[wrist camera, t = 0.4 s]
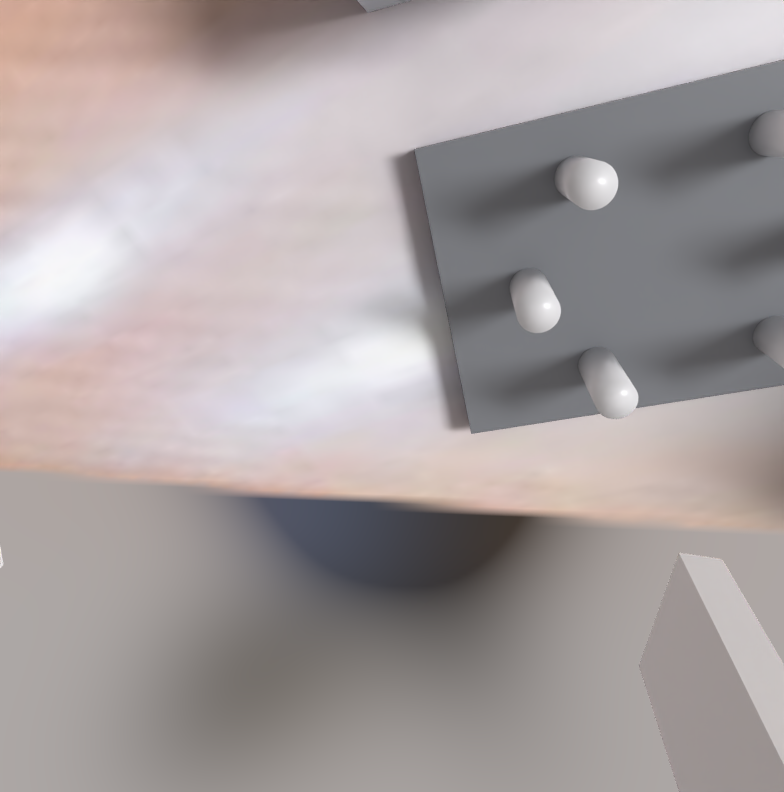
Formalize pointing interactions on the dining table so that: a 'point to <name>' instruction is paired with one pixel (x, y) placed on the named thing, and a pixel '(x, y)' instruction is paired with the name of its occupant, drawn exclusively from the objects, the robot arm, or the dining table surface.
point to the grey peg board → (615, 252)
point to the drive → (378, 4)
